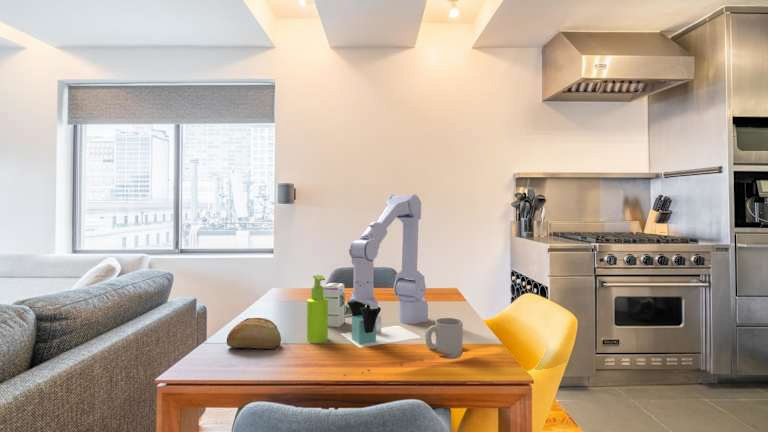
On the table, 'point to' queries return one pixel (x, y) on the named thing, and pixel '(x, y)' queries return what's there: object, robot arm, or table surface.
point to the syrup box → (335, 303)
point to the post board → (386, 336)
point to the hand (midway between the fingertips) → (363, 328)
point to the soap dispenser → (317, 314)
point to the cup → (446, 337)
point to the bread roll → (254, 334)
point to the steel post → (378, 324)
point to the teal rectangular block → (361, 331)
